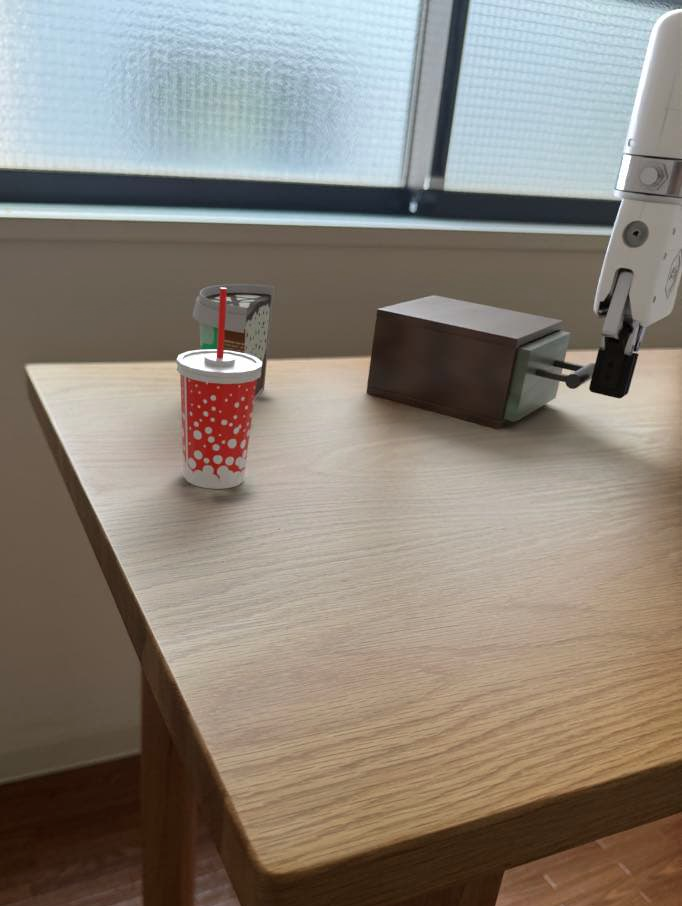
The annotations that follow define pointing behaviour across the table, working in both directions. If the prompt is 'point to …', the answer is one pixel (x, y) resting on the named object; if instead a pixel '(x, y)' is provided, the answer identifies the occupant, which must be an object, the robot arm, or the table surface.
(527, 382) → the drawer
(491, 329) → the cabinet
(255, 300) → the food container
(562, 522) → the table surface
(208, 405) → the beverage cup
